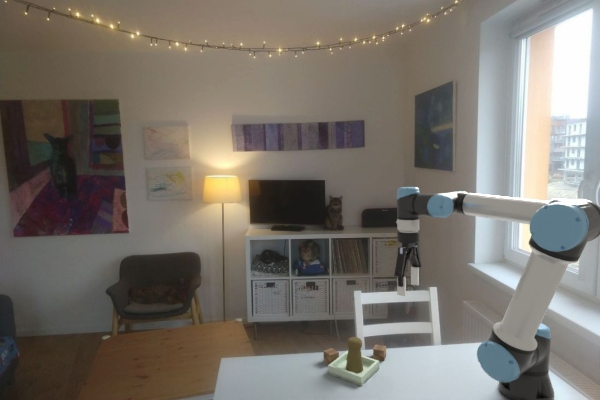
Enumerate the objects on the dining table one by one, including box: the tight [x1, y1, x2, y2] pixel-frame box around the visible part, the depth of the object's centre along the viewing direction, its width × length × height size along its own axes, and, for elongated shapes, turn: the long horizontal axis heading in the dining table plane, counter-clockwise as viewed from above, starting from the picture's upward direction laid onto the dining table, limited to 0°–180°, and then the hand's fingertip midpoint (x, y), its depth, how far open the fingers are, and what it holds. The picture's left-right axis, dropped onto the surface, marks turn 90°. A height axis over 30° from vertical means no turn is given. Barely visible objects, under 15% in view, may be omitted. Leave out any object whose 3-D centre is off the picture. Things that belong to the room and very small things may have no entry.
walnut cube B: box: [323, 347, 340, 366], centre depth 147 cm, size 4×4×4 cm
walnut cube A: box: [372, 344, 387, 362], centre depth 150 cm, size 4×4×4 cm
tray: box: [327, 350, 380, 387], centre depth 141 cm, size 13×13×3 cm
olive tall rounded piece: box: [346, 336, 363, 373], centre depth 140 cm, size 6×6×11 cm
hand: (408, 289), depth 144 cm, fingers open, 13 cm apart
